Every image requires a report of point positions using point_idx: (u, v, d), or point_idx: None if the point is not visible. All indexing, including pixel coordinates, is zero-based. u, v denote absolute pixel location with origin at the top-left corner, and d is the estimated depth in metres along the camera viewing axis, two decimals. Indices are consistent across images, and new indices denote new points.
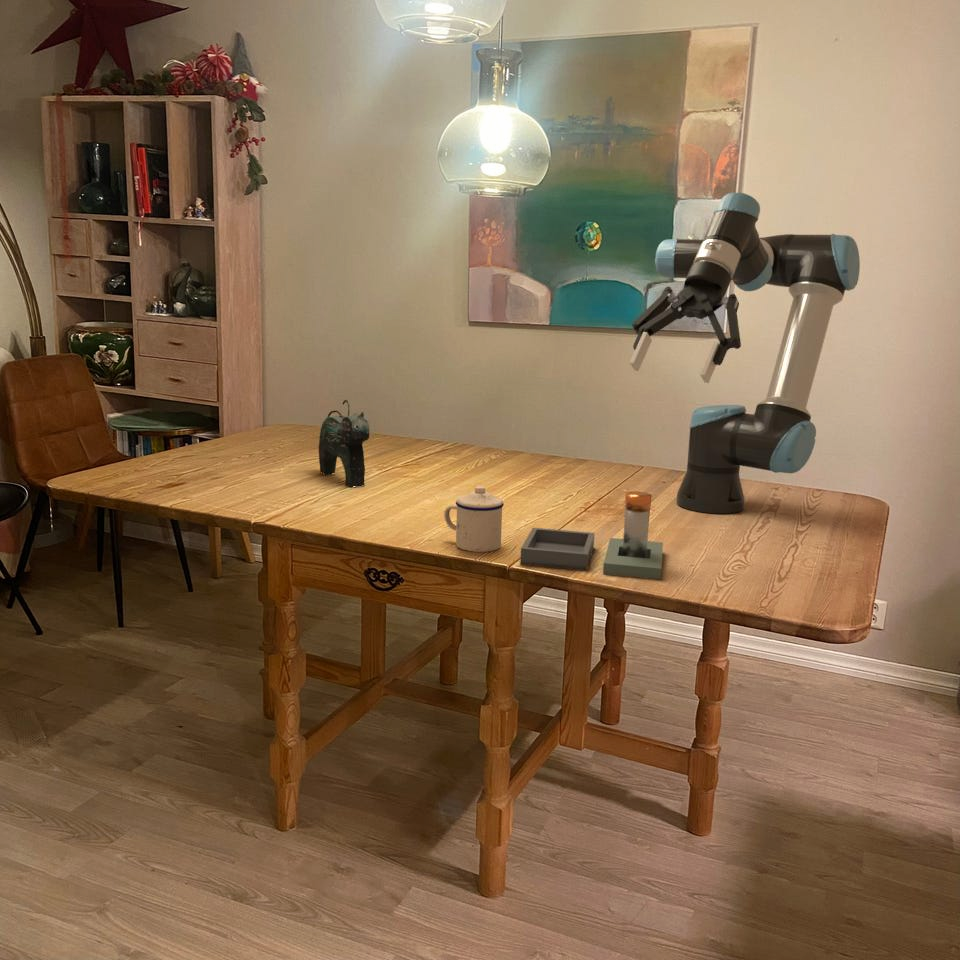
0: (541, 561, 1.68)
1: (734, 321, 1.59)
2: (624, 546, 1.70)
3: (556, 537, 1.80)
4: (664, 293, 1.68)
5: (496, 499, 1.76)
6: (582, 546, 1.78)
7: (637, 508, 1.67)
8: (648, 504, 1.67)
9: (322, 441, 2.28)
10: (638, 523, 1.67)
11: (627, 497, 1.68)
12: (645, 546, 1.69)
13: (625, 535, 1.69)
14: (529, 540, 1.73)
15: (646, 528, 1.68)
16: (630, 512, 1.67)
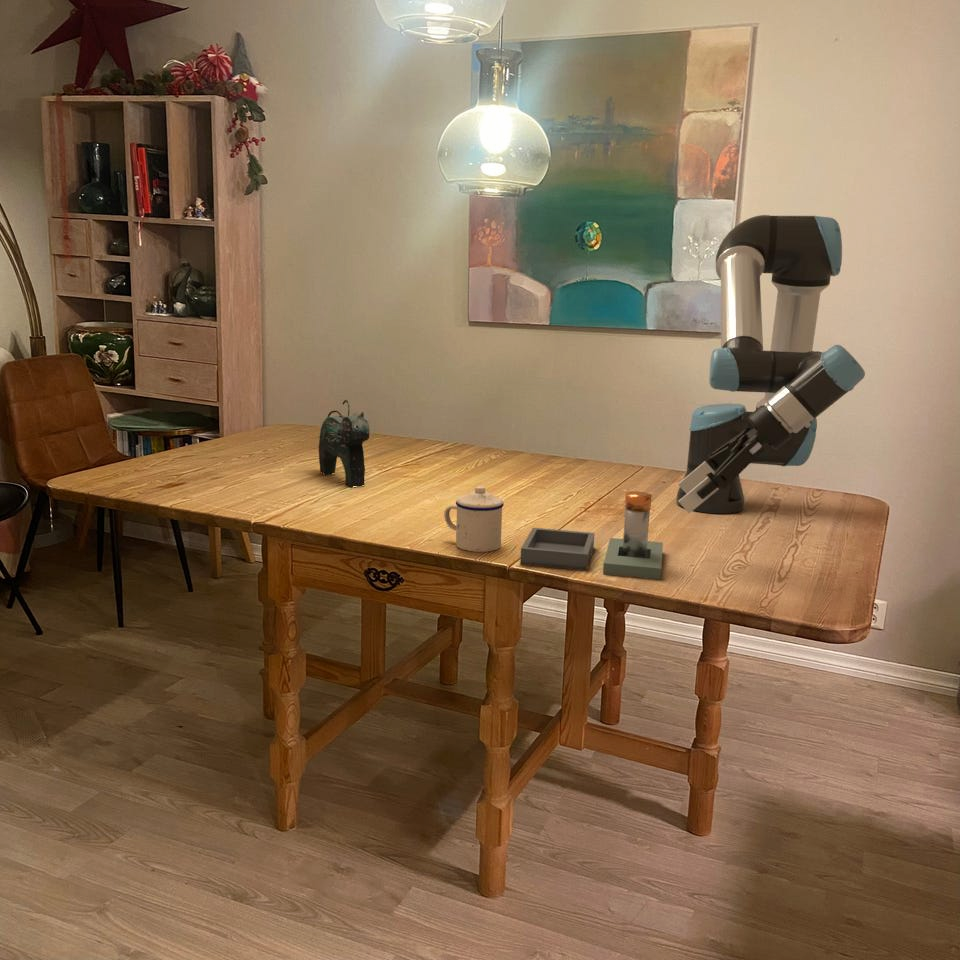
0: (541, 561, 1.68)
1: None
2: (624, 546, 1.70)
3: (556, 537, 1.80)
4: (757, 455, 1.55)
5: (496, 499, 1.76)
6: (582, 546, 1.78)
7: (637, 508, 1.67)
8: (648, 504, 1.67)
9: (322, 441, 2.28)
10: (639, 523, 1.67)
11: (627, 497, 1.68)
12: (645, 546, 1.69)
13: (625, 535, 1.69)
14: (529, 540, 1.73)
15: (646, 528, 1.68)
16: (630, 512, 1.67)
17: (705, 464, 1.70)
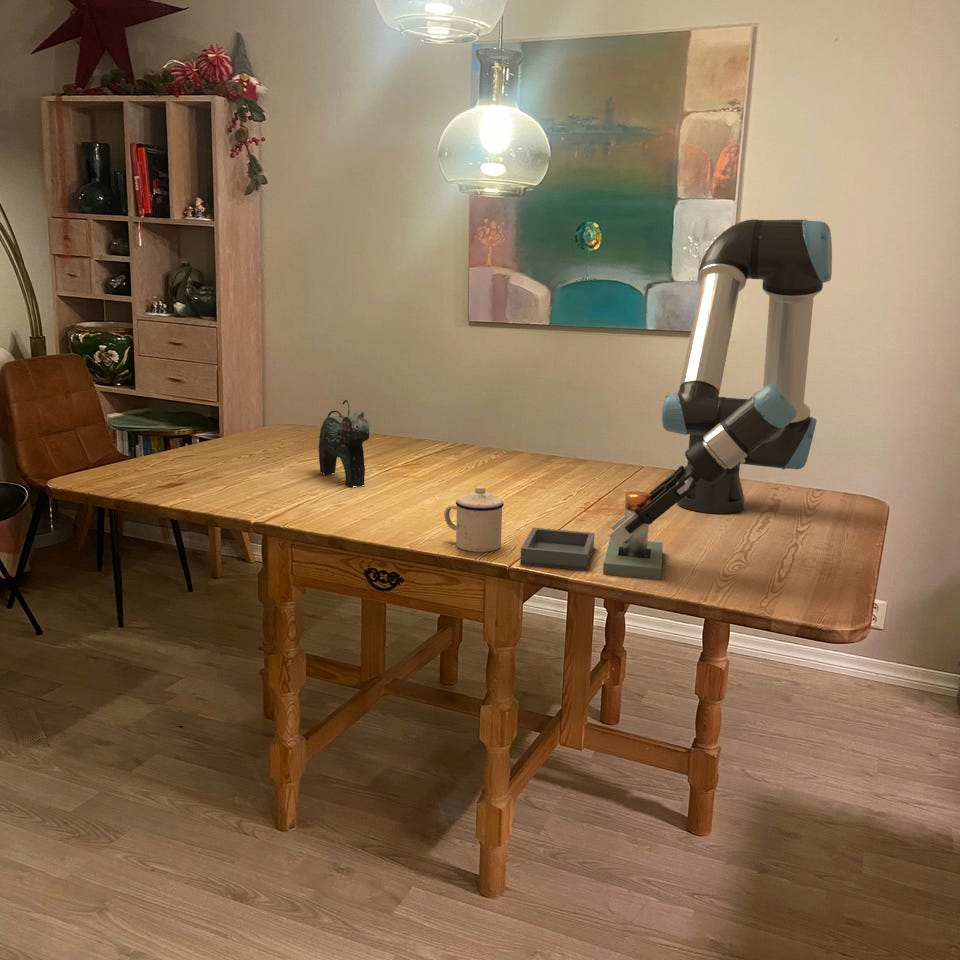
0: (541, 561, 1.68)
1: None
2: (624, 546, 1.70)
3: (556, 537, 1.80)
4: (684, 495, 1.61)
5: (496, 499, 1.76)
6: (582, 546, 1.78)
7: (637, 508, 1.67)
8: None
9: (322, 441, 2.28)
10: None
11: (627, 497, 1.68)
12: (645, 546, 1.69)
13: None
14: (529, 540, 1.73)
15: (646, 528, 1.68)
16: (630, 512, 1.67)
17: None
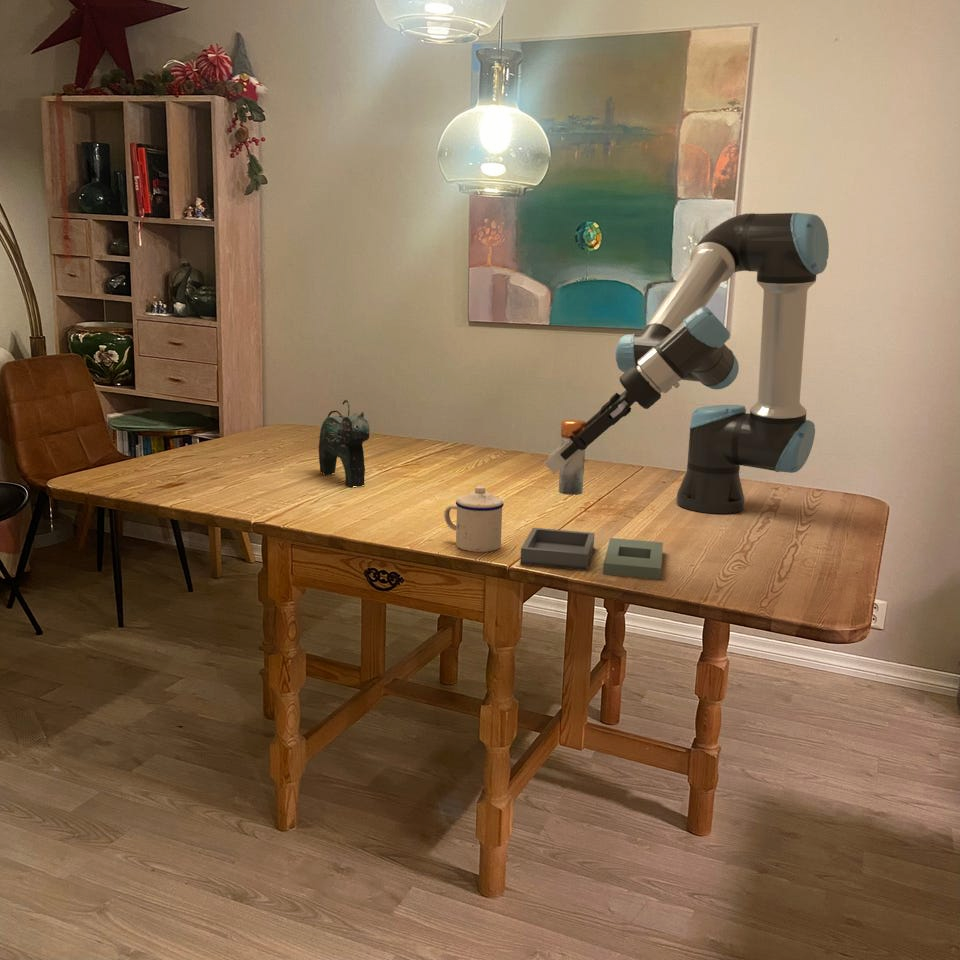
0: (541, 561, 1.68)
1: None
2: (560, 474, 1.69)
3: (556, 537, 1.80)
4: None
5: (496, 499, 1.76)
6: (582, 546, 1.78)
7: (572, 435, 1.65)
8: None
9: (322, 441, 2.28)
10: None
11: (562, 424, 1.66)
12: (581, 474, 1.68)
13: None
14: (529, 540, 1.73)
15: (582, 455, 1.67)
16: (565, 439, 1.66)
17: None
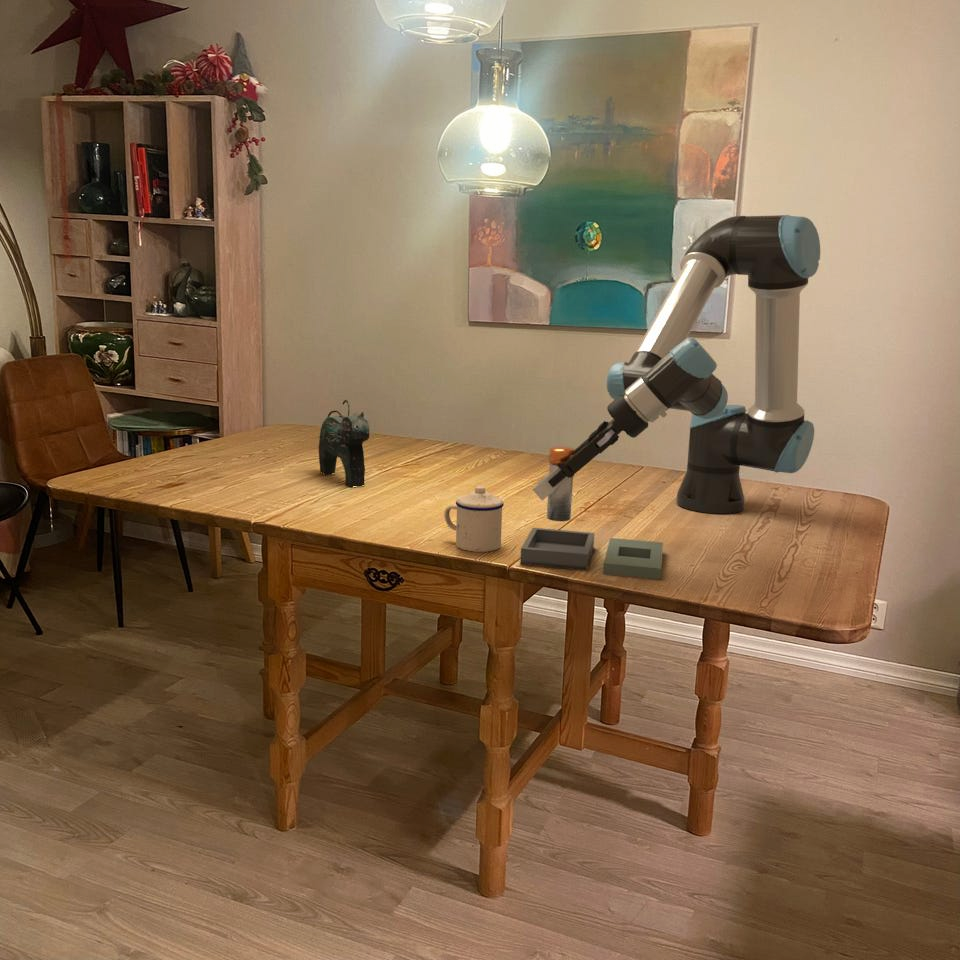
0: (541, 561, 1.68)
1: None
2: (548, 501, 1.70)
3: (556, 537, 1.80)
4: (605, 448, 1.62)
5: (496, 499, 1.76)
6: (582, 546, 1.78)
7: (560, 462, 1.67)
8: None
9: (322, 441, 2.28)
10: None
11: (551, 451, 1.68)
12: (569, 501, 1.70)
13: None
14: (529, 540, 1.73)
15: (570, 482, 1.69)
16: (553, 466, 1.68)
17: None
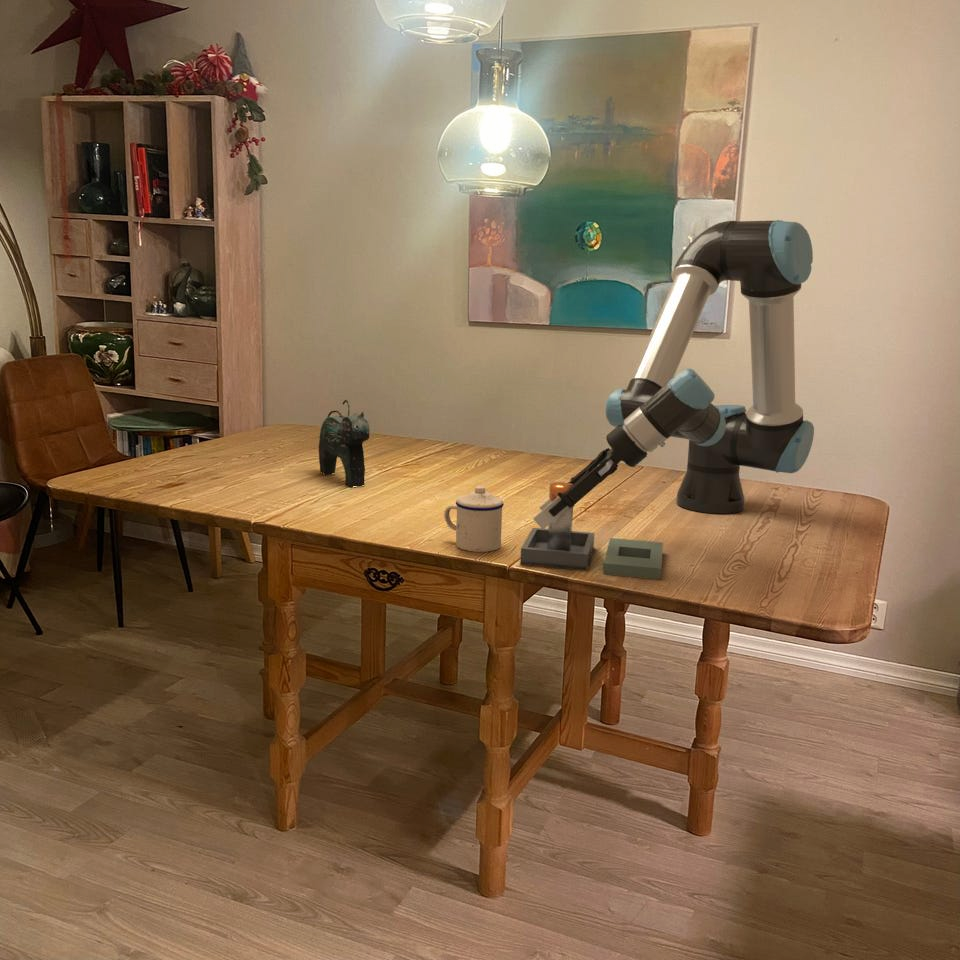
0: (541, 561, 1.68)
1: None
2: (548, 536, 1.72)
3: None
4: None
5: (496, 499, 1.76)
6: (582, 546, 1.78)
7: None
8: None
9: (322, 441, 2.28)
10: (562, 514, 1.70)
11: (551, 487, 1.70)
12: (569, 536, 1.72)
13: (549, 525, 1.72)
14: (529, 540, 1.73)
15: (569, 518, 1.71)
16: None
17: None
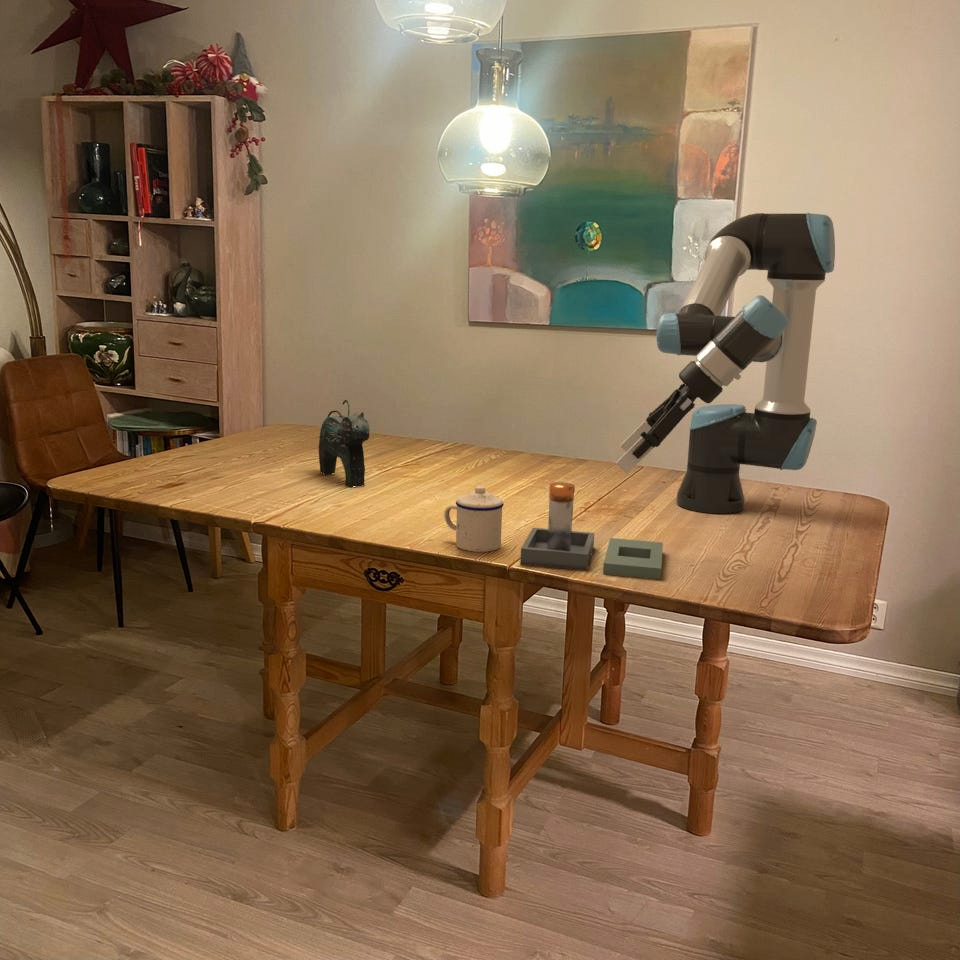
0: (541, 561, 1.68)
1: None
2: (548, 536, 1.72)
3: None
4: (688, 411, 1.57)
5: (496, 499, 1.76)
6: (582, 546, 1.78)
7: (560, 498, 1.69)
8: (571, 495, 1.70)
9: (322, 441, 2.28)
10: (562, 514, 1.70)
11: (550, 488, 1.70)
12: (569, 536, 1.72)
13: (549, 525, 1.72)
14: (529, 540, 1.73)
15: (569, 518, 1.71)
16: (553, 502, 1.70)
17: (644, 424, 1.72)
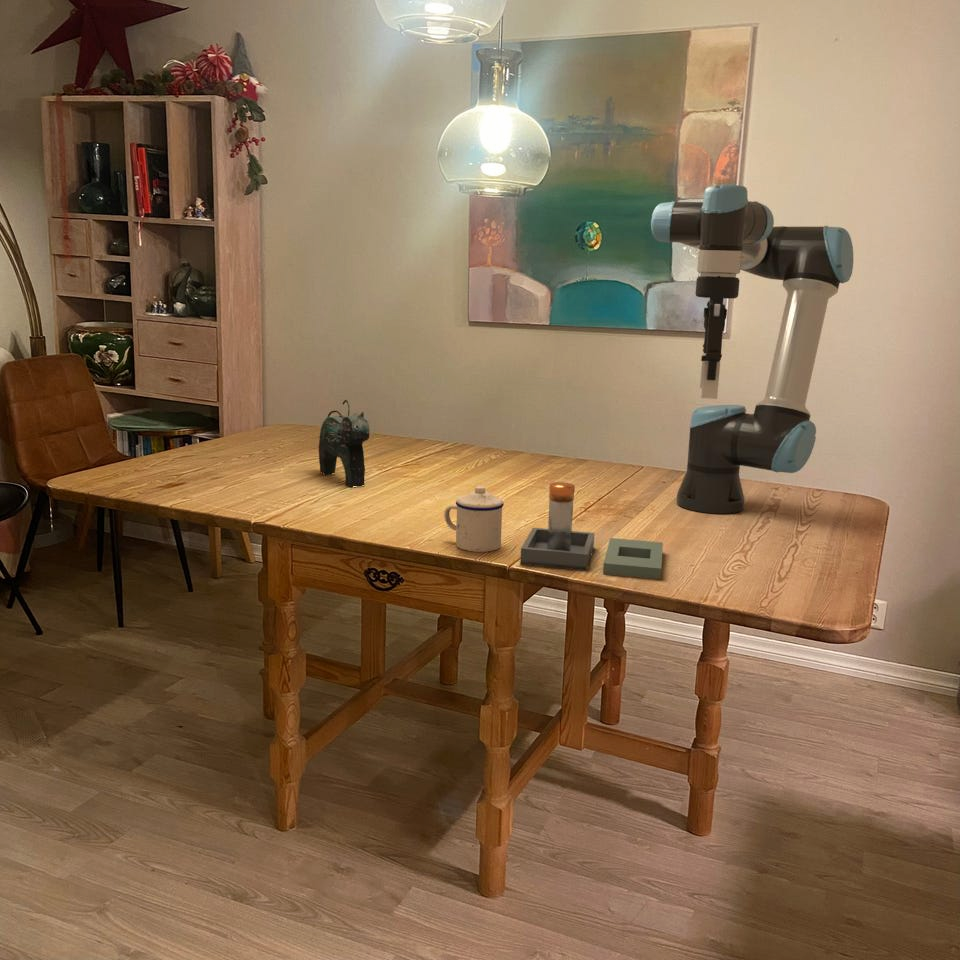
0: (541, 561, 1.68)
1: None
2: (548, 536, 1.72)
3: None
4: (723, 313, 1.62)
5: (496, 499, 1.76)
6: (582, 546, 1.78)
7: (560, 498, 1.69)
8: (571, 494, 1.70)
9: (322, 441, 2.28)
10: (562, 514, 1.70)
11: (550, 487, 1.70)
12: (569, 536, 1.72)
13: (549, 525, 1.72)
14: (529, 540, 1.73)
15: (569, 518, 1.71)
16: (553, 502, 1.70)
17: (704, 356, 1.77)
